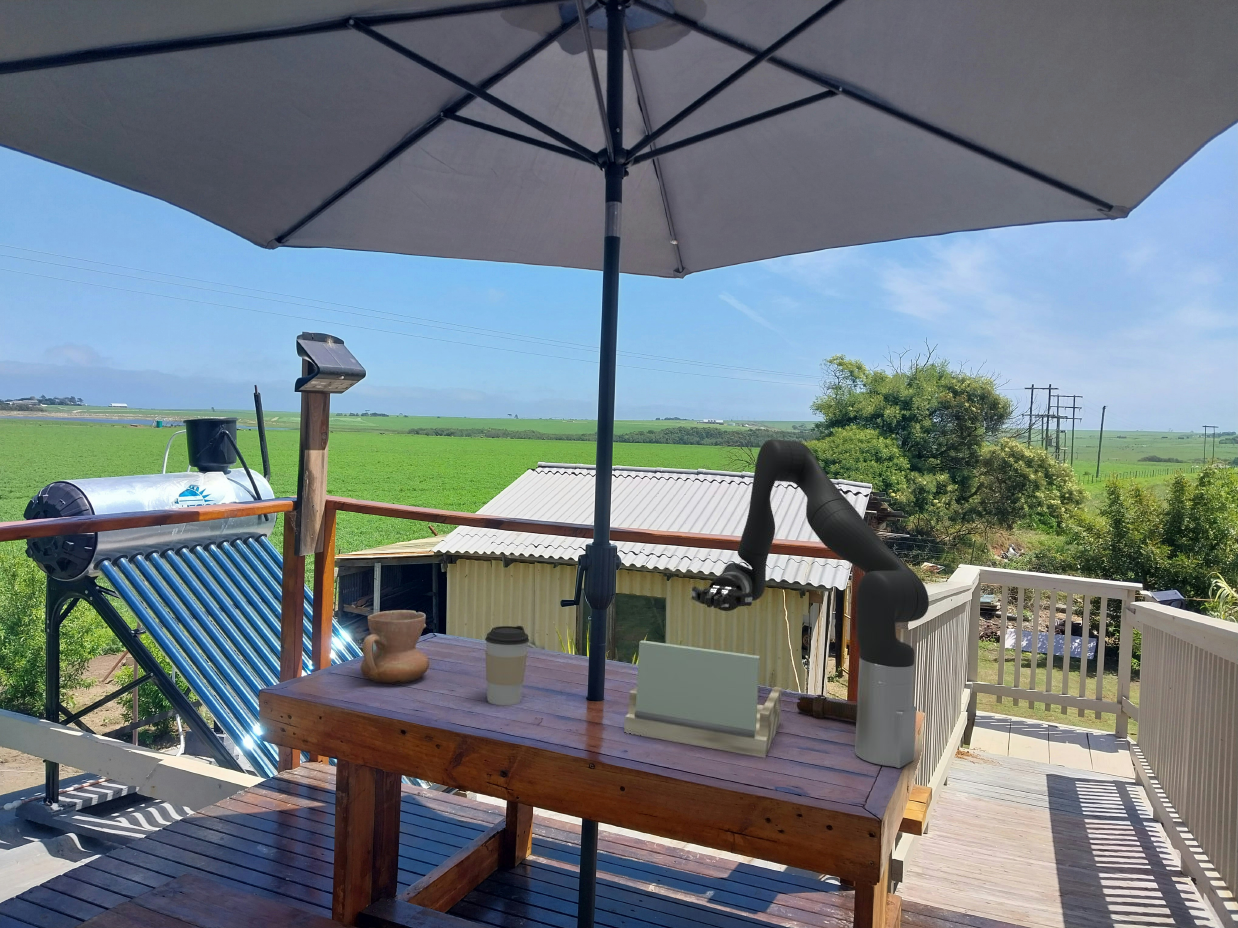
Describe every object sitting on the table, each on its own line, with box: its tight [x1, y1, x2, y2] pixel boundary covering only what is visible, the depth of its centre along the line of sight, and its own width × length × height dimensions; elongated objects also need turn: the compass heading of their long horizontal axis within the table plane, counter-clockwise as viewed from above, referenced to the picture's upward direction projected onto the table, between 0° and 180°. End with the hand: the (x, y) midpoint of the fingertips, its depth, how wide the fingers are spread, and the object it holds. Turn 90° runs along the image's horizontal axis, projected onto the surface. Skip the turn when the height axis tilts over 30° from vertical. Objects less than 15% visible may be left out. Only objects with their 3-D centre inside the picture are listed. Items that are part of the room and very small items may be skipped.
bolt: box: [796, 694, 857, 722], centre depth 153 cm, size 6×5×15 cm
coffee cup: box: [484, 625, 530, 706], centre depth 154 cm, size 9×9×15 cm
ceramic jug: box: [360, 609, 430, 684], centre depth 164 cm, size 18×14×14 cm
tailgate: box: [634, 640, 761, 738], centre depth 134 cm, size 2×22×14 cm, turn 70°
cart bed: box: [623, 686, 783, 759], centre depth 143 cm, size 20×26×7 cm
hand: (712, 602), depth 145 cm, fingers closed
